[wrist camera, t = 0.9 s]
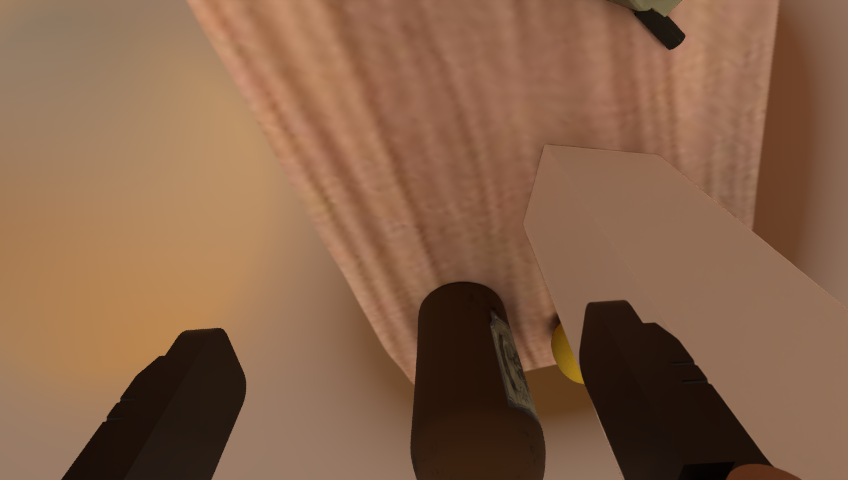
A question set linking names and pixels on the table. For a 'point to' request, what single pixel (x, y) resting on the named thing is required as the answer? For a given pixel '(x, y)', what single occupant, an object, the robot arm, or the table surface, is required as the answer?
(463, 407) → the olive oil
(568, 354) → the lemon
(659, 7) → the handheld radio
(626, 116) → the table surface
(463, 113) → the table surface
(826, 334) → the stand
